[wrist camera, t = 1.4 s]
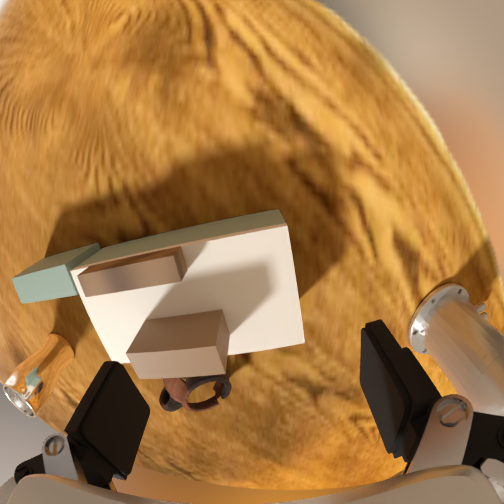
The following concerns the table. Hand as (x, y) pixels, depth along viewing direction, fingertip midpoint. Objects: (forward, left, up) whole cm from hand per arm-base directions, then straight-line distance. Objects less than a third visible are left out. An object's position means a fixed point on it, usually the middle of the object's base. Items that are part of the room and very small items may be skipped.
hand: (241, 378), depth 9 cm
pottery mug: (+12, +19, -23) cm, 32 cm away
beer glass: (+36, +13, -23) cm, 45 cm away
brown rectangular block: (+10, -1, -14) cm, 18 cm away
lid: (+7, +4, -17) cm, 19 cm away
